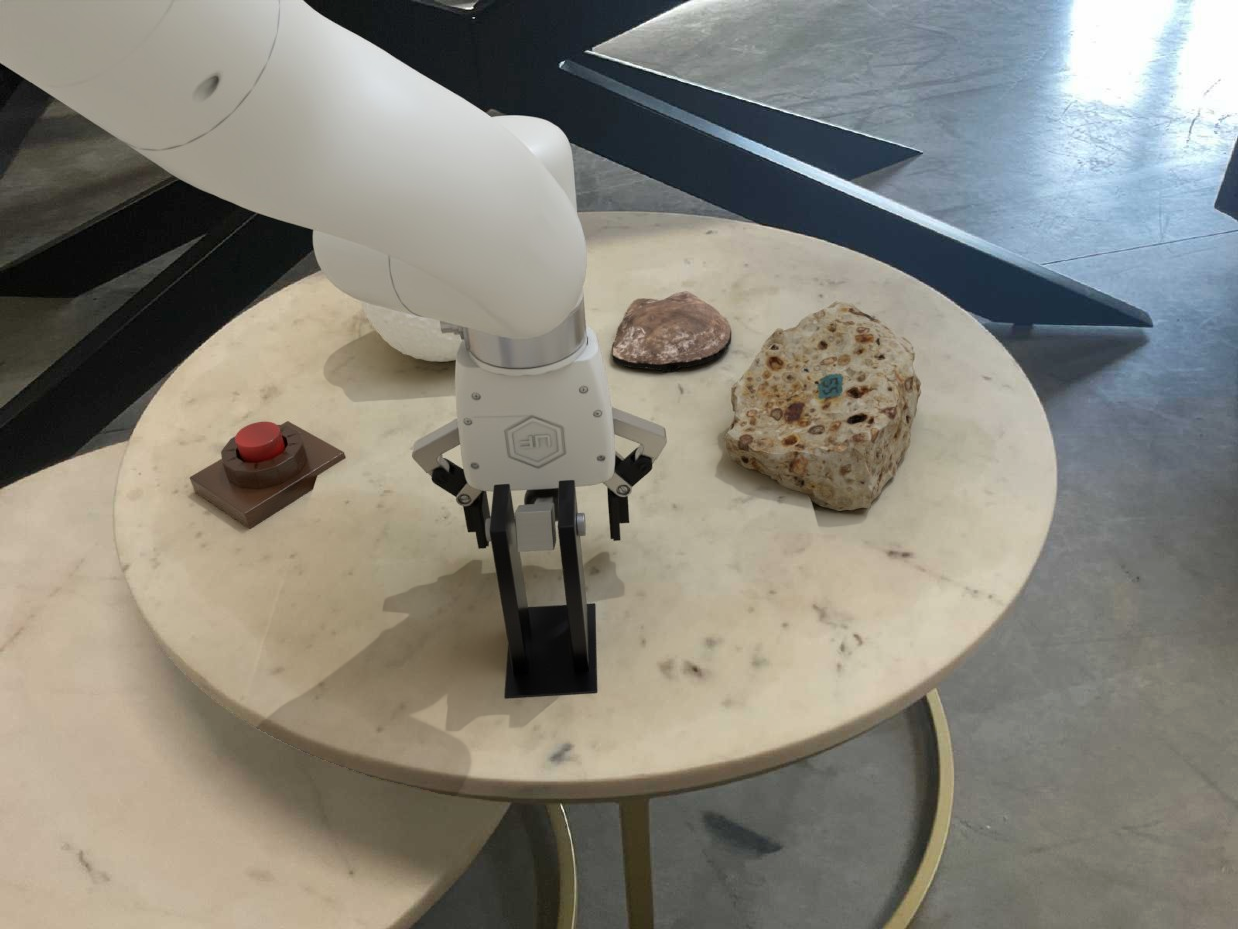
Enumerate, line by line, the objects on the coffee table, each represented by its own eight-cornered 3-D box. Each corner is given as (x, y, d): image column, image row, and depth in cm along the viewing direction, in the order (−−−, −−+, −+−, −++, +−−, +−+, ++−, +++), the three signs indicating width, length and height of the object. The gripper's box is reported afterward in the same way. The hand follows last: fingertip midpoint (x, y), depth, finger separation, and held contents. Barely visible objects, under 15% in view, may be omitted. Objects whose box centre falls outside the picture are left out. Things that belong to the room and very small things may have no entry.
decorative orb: (511, 407, 94) (488, 247, 85) (327, 401, 97) (284, 245, 87) (549, 300, 110) (534, 155, 100) (390, 298, 112) (360, 156, 103)
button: (257, 469, 84) (251, 452, 83) (232, 454, 86) (226, 436, 84) (293, 447, 86) (288, 430, 85) (268, 433, 88) (262, 416, 87)
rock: (899, 535, 79) (879, 436, 74) (725, 526, 86) (694, 434, 80) (943, 373, 93) (929, 278, 87) (790, 376, 100) (767, 289, 94)
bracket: (512, 619, 73) (487, 466, 65) (596, 614, 73) (582, 460, 65) (506, 709, 67) (478, 552, 58) (598, 704, 67) (583, 546, 58)
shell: (742, 313, 106) (743, 282, 104) (719, 380, 96) (720, 347, 94) (633, 304, 108) (632, 273, 106) (601, 368, 99) (599, 335, 97)
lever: (527, 520, 74) (524, 476, 74) (571, 518, 74) (568, 474, 74) (509, 559, 62) (505, 506, 61) (562, 556, 61) (559, 503, 61)
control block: (250, 530, 82) (238, 496, 80) (194, 492, 87) (181, 459, 85) (348, 467, 88) (339, 434, 86) (292, 435, 93) (282, 403, 90)
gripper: (377, 365, 61) (425, 575, 72) (668, 347, 61) (673, 560, 72) (395, 304, 67) (436, 506, 78) (660, 288, 67) (665, 492, 78)
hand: (550, 531), depth 75 cm, fingers open, 9 cm apart
